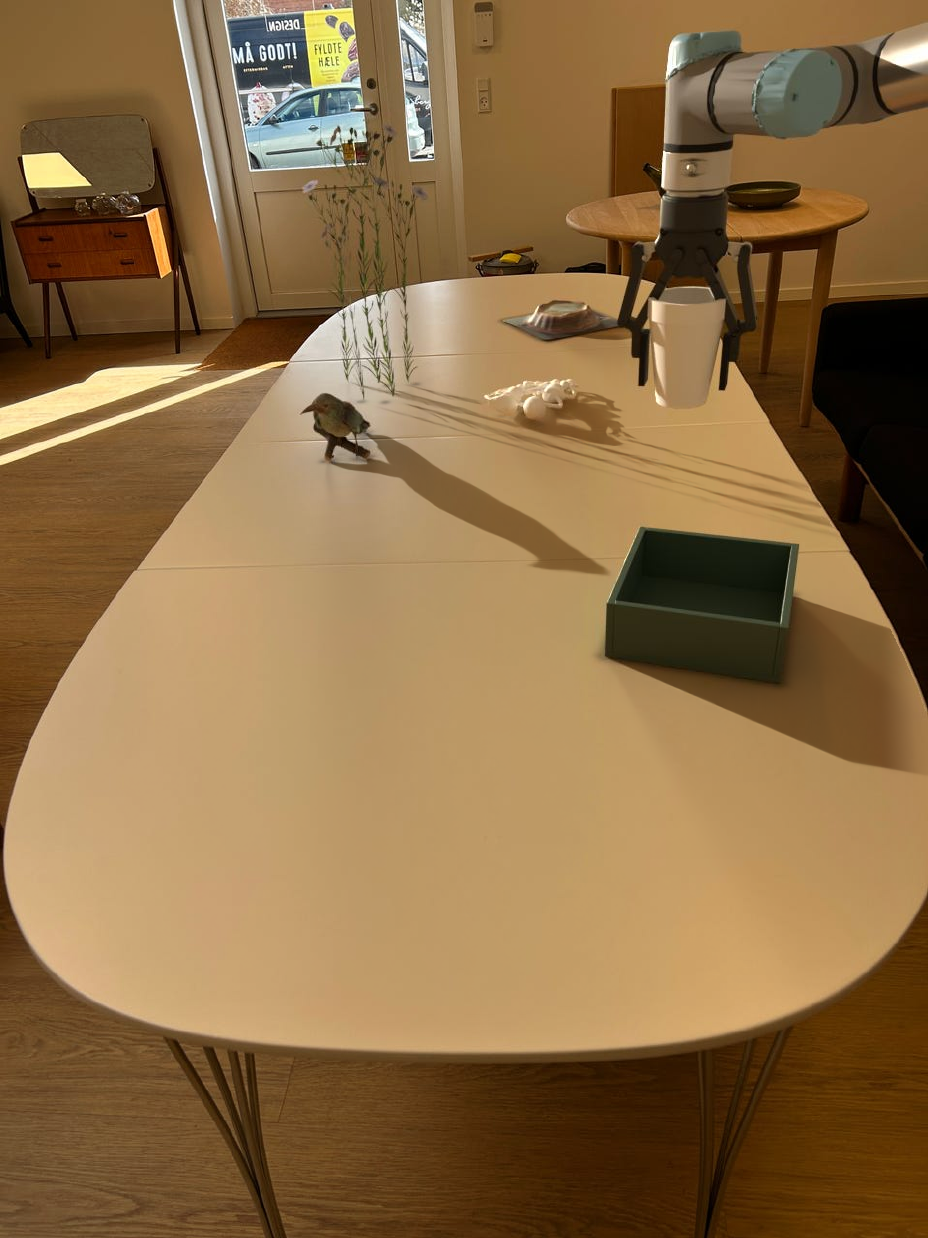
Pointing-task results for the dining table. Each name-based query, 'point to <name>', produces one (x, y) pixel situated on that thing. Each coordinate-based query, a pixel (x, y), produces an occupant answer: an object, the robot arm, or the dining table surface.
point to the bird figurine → (338, 424)
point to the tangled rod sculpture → (532, 405)
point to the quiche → (562, 320)
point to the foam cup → (684, 344)
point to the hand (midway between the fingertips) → (682, 384)
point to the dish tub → (703, 603)
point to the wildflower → (380, 184)
